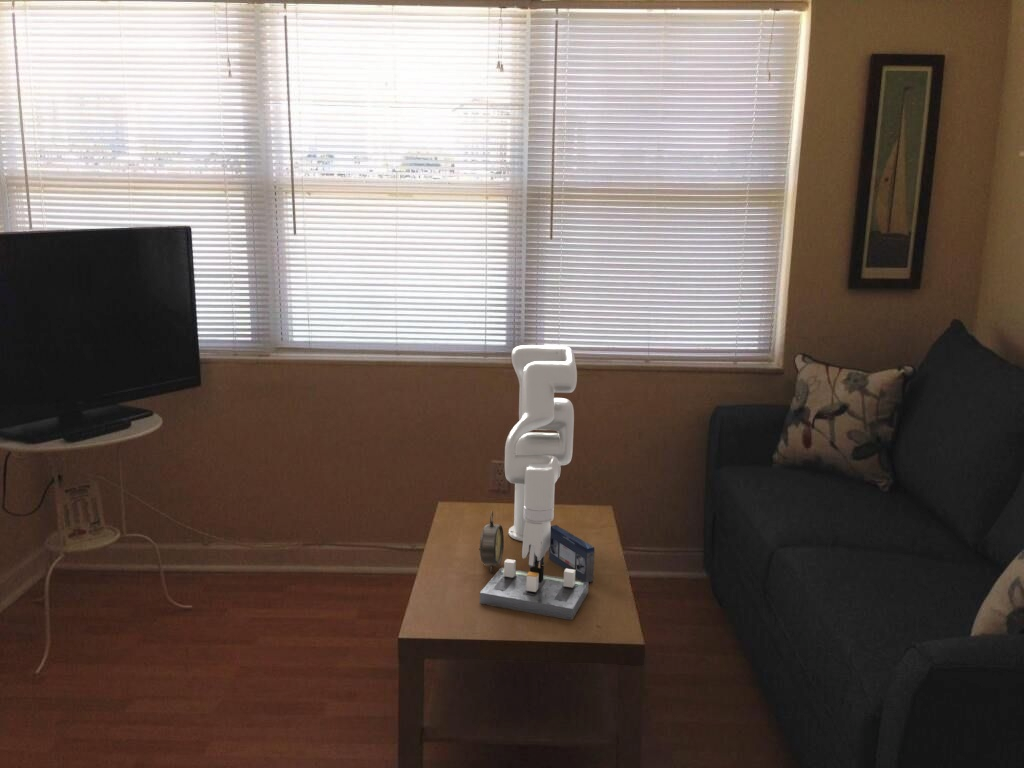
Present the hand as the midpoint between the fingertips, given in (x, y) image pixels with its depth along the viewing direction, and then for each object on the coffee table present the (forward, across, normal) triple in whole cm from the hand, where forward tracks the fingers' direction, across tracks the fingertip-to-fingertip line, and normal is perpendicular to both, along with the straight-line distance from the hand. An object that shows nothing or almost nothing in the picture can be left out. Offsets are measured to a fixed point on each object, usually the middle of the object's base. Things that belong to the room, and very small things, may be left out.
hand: (536, 580), depth 232 cm
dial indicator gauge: (+5, -13, -17) cm, 22 cm away
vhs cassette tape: (+5, -19, +4) cm, 20 cm away
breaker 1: (+1, -3, -8) cm, 9 cm away
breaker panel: (+4, +1, 0) cm, 5 cm away
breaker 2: (+1, -3, +8) cm, 8 cm away
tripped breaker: (+1, +3, 0) cm, 3 cm away
